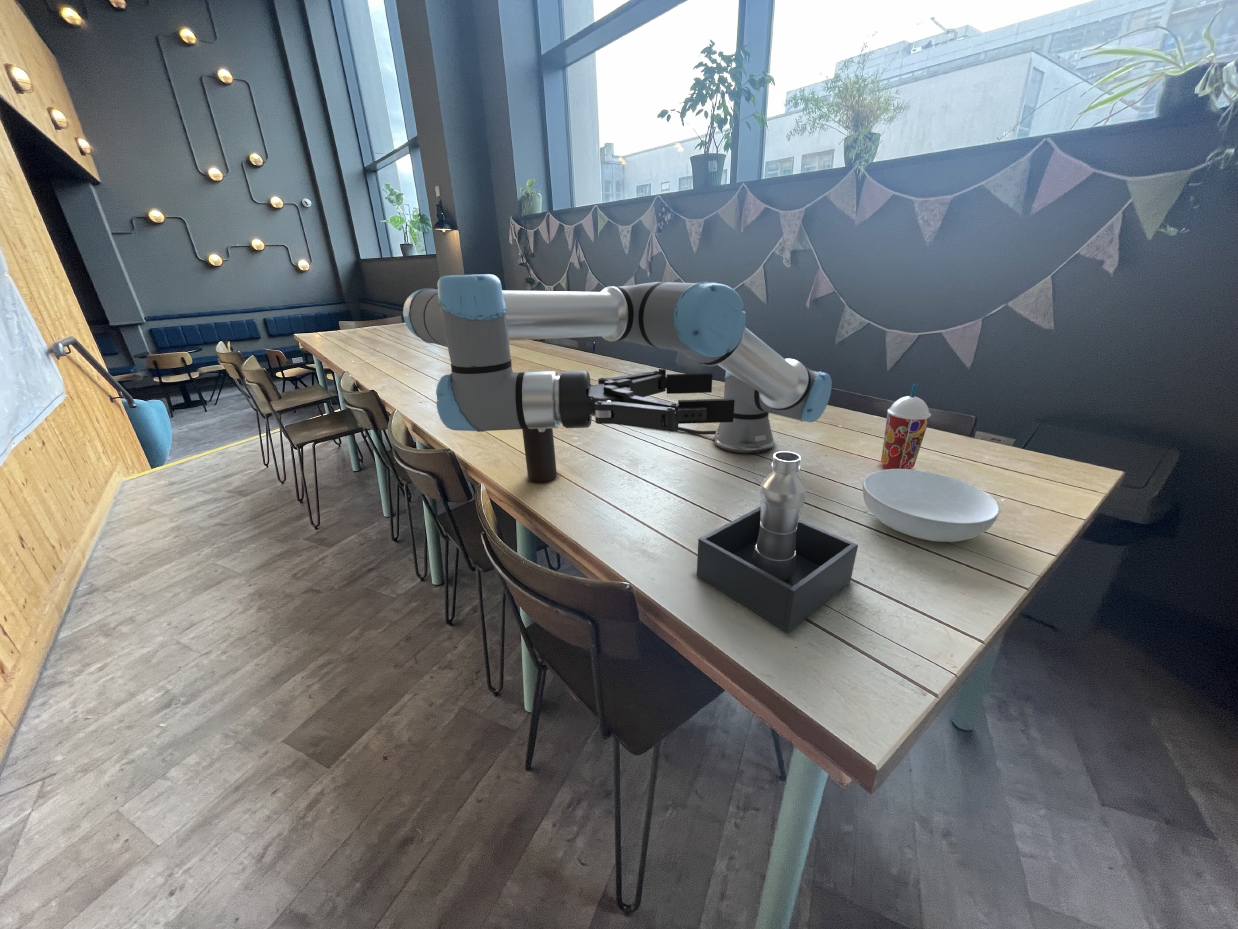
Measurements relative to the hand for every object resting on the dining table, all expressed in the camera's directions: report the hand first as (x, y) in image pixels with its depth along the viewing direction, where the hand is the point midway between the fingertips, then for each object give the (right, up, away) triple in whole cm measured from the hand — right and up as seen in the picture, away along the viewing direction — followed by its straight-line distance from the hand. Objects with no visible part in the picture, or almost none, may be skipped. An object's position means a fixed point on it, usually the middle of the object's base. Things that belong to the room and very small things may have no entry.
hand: (721, 395), depth 62 cm
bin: (+11, -27, +12) cm, 32 cm away
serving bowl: (+42, -21, +25) cm, 53 cm away
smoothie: (+52, -10, +48) cm, 71 cm away
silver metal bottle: (+10, -26, +12) cm, 31 cm away
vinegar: (-32, -12, +50) cm, 60 cm away
